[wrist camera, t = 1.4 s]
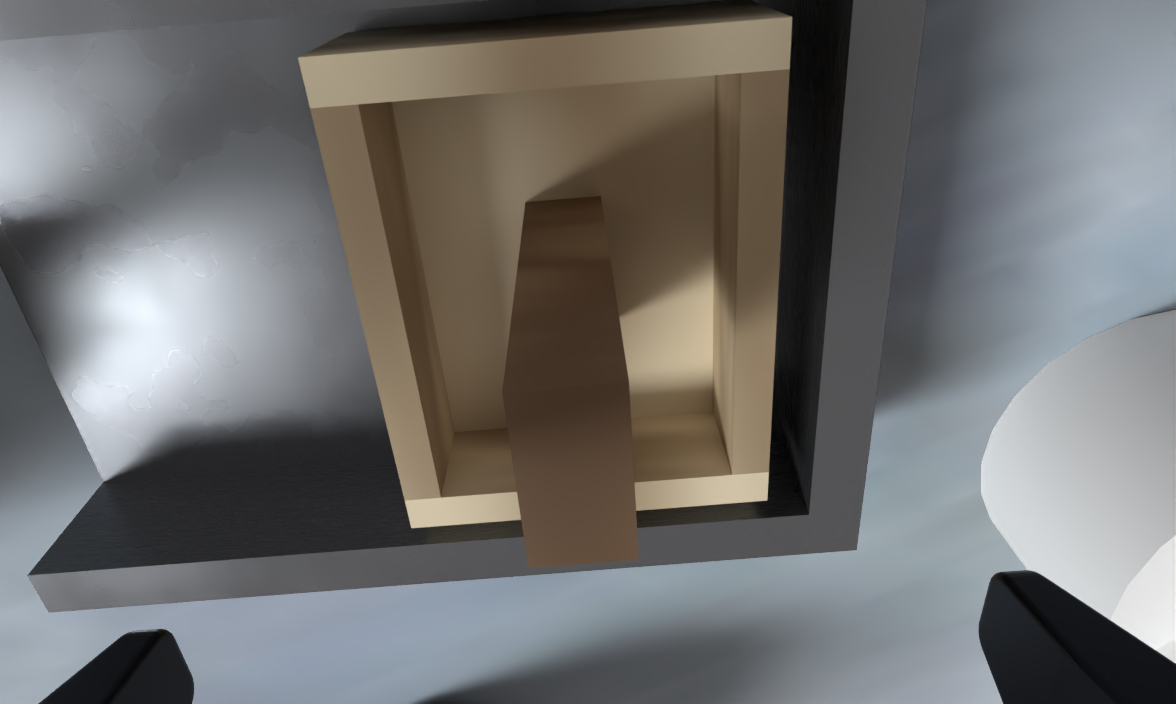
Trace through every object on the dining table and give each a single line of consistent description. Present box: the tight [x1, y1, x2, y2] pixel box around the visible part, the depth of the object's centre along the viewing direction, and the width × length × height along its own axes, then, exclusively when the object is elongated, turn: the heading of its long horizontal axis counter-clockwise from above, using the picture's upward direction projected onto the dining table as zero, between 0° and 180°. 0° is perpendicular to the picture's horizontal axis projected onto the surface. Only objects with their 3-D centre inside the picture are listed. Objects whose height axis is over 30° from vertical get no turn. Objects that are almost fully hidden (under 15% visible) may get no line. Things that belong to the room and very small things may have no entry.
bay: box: [0, 0, 927, 612], centre depth 17 cm, size 19×14×4 cm
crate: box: [298, 0, 792, 568], centre depth 14 cm, size 8×10×8 cm
